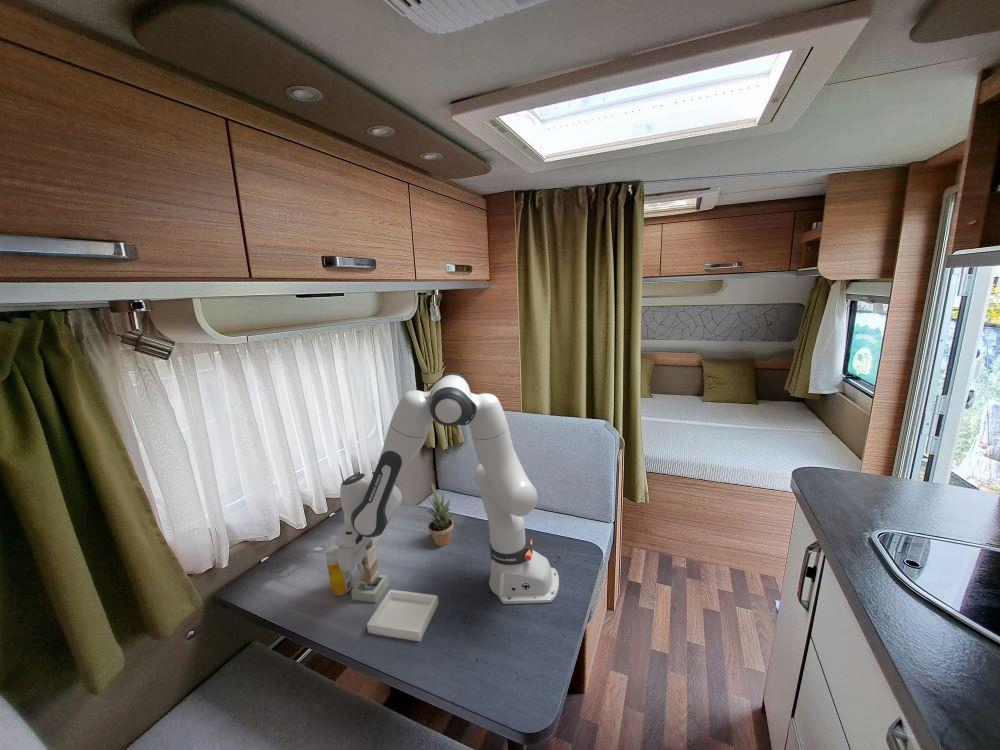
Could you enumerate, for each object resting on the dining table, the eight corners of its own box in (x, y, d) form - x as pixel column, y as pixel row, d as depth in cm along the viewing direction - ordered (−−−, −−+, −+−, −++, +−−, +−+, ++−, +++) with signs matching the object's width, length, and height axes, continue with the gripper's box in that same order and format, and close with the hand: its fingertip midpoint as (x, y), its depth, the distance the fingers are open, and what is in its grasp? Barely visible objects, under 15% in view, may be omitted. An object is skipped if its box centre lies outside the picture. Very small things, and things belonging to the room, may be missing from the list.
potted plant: (430, 535, 150) (423, 478, 145) (454, 531, 151) (448, 474, 146) (429, 551, 140) (422, 490, 135) (455, 547, 141) (449, 486, 136)
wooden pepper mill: (381, 573, 124) (375, 538, 121) (372, 585, 119) (366, 548, 116) (366, 572, 125) (361, 536, 122) (357, 584, 120) (351, 547, 118)
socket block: (389, 583, 126) (388, 575, 125) (375, 602, 118) (374, 594, 117) (367, 580, 128) (366, 572, 127) (352, 599, 120) (351, 591, 119)
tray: (438, 604, 116) (437, 595, 115) (420, 641, 103) (419, 632, 103) (391, 597, 120) (390, 589, 119) (368, 633, 107) (366, 624, 107)
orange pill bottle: (339, 582, 128) (332, 543, 125) (356, 583, 127) (349, 543, 124) (328, 596, 122) (320, 555, 119) (346, 597, 121) (338, 556, 118)
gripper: (370, 505, 129) (375, 542, 132) (330, 544, 109) (338, 586, 112) (387, 507, 127) (392, 543, 130) (350, 546, 108) (357, 588, 111)
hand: (367, 563), depth 121 cm, fingers closed on wooden pepper mill, 4 cm apart
